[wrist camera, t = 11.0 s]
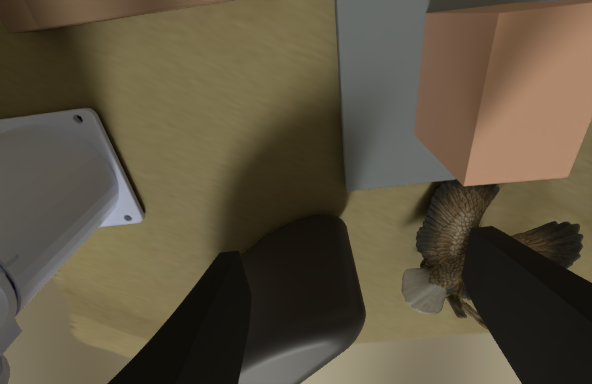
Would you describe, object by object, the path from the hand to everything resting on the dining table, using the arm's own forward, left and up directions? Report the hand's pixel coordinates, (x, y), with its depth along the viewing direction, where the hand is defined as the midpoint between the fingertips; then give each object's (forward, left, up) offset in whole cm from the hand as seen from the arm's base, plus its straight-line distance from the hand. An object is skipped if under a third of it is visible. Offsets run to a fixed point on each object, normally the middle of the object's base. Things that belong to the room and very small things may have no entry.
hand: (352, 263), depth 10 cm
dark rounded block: (-5, -11, -11) cm, 16 cm away
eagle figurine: (+9, -8, -11) cm, 16 cm away
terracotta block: (+7, +3, -9) cm, 12 cm away
